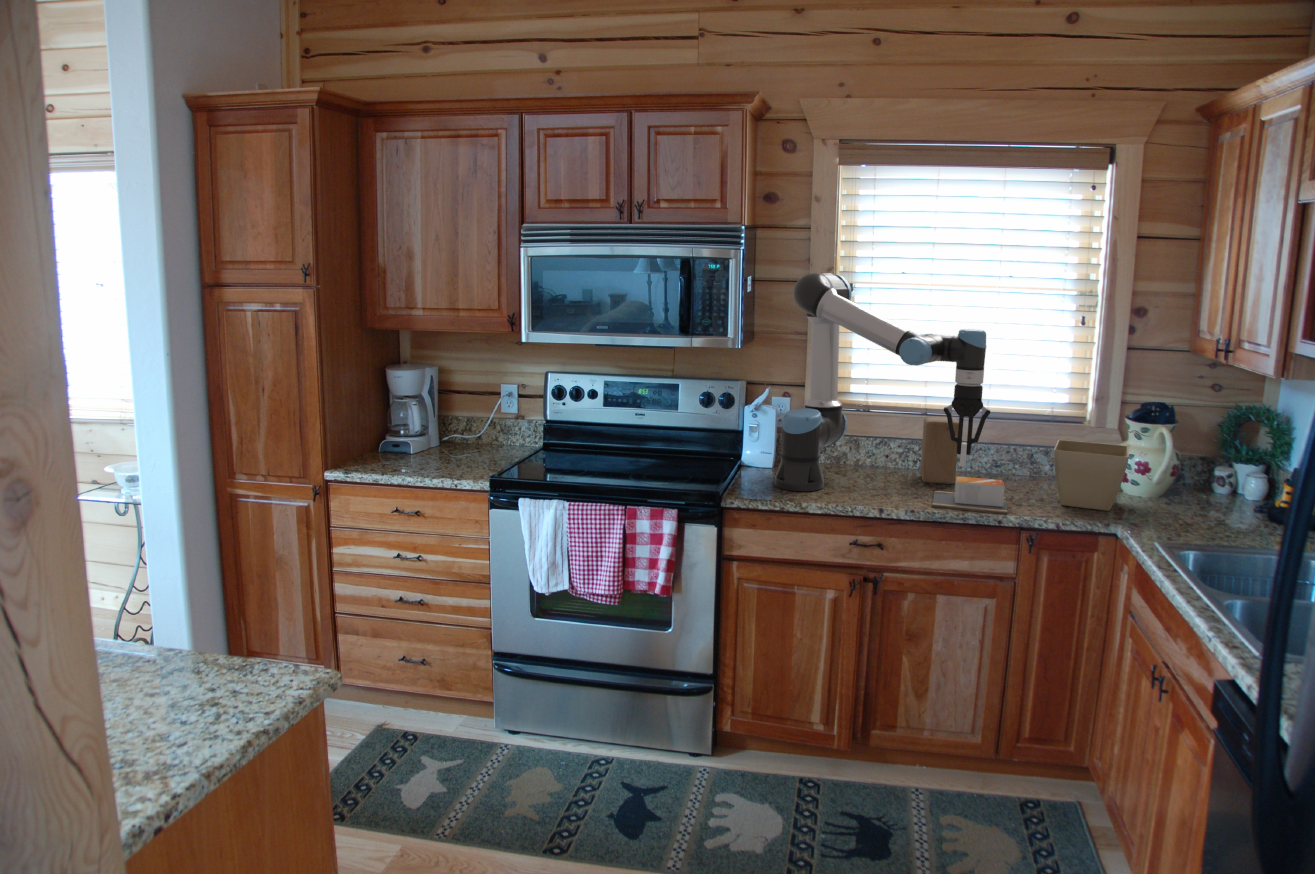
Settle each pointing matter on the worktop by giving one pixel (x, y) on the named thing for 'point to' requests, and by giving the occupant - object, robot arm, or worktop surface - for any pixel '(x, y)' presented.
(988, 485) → the small box
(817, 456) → the robot arm
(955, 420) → the wooden block
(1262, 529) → the worktop surface
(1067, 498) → the flower pot
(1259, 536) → the worktop surface
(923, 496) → the worktop surface
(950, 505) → the grey flat board
